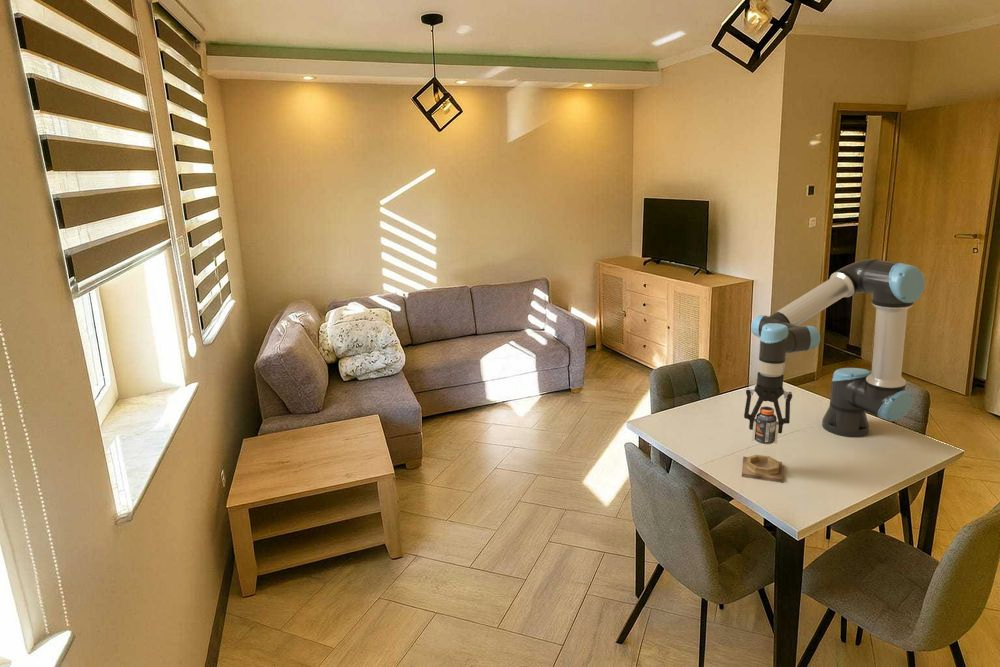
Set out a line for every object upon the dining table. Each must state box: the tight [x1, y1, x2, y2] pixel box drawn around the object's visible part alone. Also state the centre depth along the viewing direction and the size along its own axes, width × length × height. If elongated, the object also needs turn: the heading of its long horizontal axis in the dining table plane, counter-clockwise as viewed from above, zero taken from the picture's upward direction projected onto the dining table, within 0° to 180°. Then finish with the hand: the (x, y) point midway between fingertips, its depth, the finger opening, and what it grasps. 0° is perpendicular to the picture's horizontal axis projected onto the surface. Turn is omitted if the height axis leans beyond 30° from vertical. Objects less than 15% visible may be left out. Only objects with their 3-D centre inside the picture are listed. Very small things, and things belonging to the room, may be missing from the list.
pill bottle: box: [754, 406, 778, 445], centre depth 195 cm, size 6×6×11 cm
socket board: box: [741, 454, 784, 484], centre depth 199 cm, size 12×12×3 cm
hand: (764, 440), depth 196 cm, fingers closed on pill bottle, 6 cm apart
